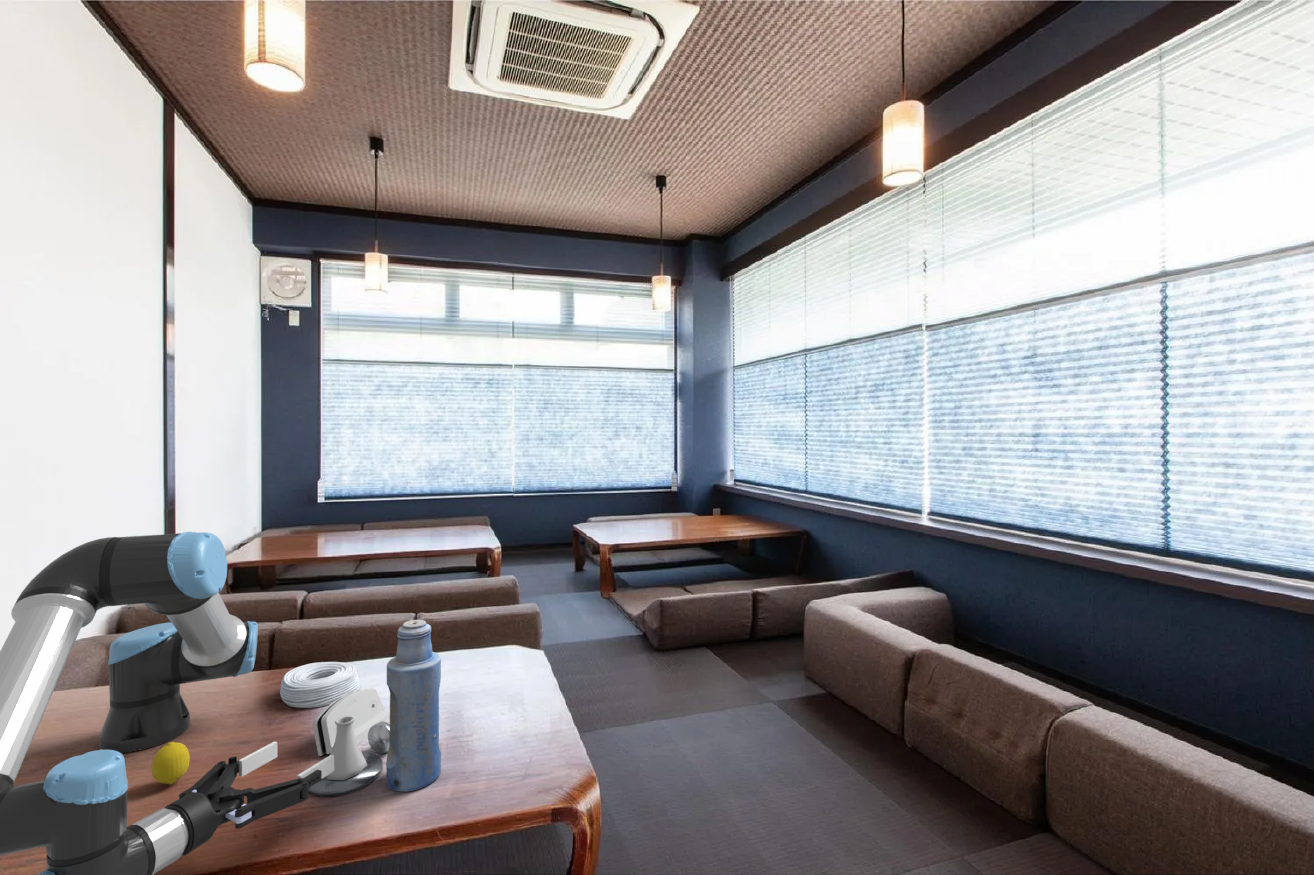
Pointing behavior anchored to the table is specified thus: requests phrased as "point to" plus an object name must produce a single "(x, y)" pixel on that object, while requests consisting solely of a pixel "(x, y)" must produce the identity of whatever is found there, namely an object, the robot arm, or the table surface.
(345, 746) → the flask
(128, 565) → the robot arm
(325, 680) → the cable
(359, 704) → the white flat angled piece
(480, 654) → the table surface
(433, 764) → the bottle
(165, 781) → the lemon
